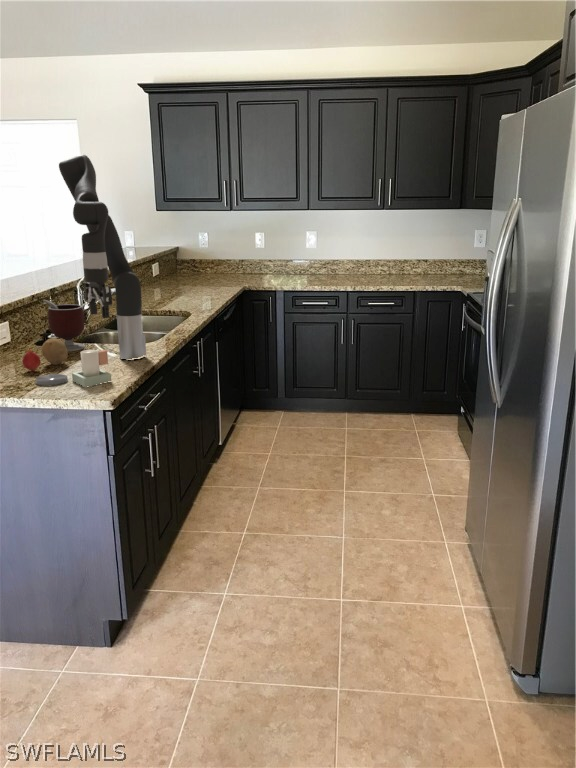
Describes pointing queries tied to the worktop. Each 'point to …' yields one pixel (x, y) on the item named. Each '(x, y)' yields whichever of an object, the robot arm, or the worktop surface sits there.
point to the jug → (93, 362)
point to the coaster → (51, 379)
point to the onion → (31, 360)
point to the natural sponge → (54, 351)
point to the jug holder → (91, 378)
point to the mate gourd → (66, 323)
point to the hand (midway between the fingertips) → (99, 315)
